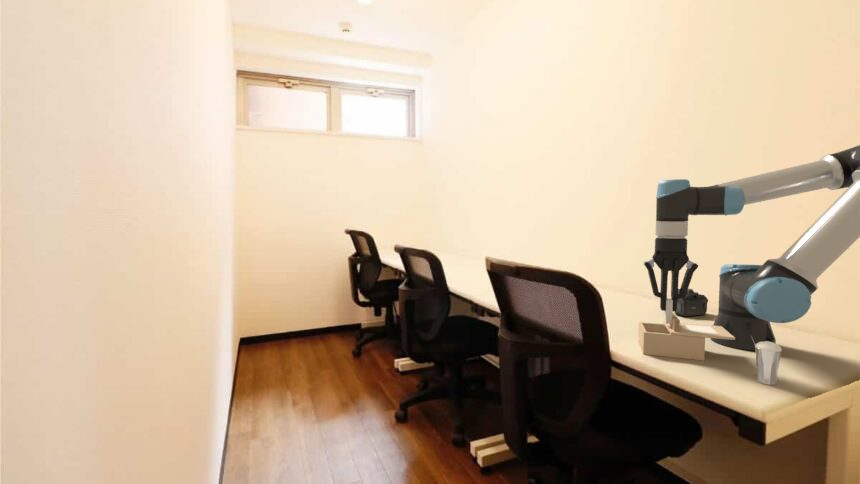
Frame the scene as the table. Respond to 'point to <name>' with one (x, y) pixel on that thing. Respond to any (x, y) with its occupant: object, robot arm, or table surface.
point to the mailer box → (669, 342)
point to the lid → (697, 330)
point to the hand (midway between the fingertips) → (667, 322)
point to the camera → (691, 304)
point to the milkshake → (767, 362)
